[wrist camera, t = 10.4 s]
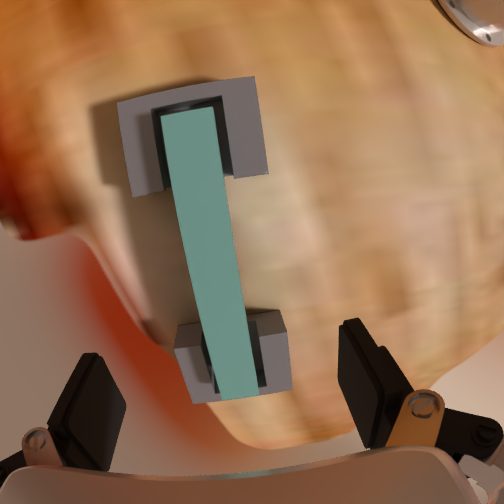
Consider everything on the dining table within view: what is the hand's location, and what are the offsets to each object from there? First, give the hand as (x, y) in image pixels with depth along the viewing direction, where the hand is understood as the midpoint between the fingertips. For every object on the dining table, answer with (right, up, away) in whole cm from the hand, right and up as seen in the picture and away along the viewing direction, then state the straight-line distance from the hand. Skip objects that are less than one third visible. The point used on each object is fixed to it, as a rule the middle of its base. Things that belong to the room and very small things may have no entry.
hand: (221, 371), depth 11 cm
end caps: (-2, +4, +14) cm, 14 cm away
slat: (-2, +4, +13) cm, 13 cm away
